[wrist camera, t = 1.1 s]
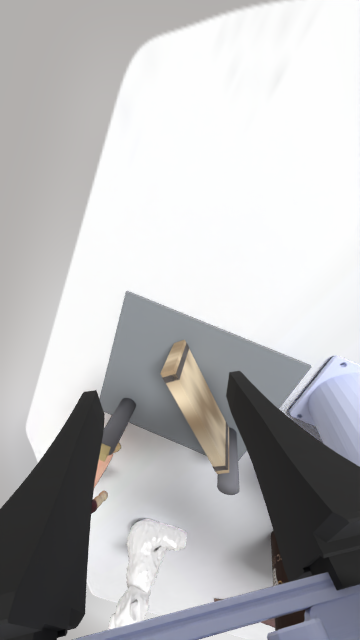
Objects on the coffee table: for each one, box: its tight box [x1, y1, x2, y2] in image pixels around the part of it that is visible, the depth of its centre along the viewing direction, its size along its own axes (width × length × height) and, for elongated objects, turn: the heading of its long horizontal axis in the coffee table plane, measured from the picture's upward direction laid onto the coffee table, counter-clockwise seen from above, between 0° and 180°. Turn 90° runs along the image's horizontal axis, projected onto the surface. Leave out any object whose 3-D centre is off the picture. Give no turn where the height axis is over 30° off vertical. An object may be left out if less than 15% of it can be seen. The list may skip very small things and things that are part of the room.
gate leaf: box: [160, 340, 229, 474], centre depth 21 cm, size 12×1×5 cm, turn 26°
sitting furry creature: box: [109, 519, 187, 630], centre depth 33 cm, size 10×9×12 cm
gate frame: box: [99, 291, 311, 495], centre depth 22 cm, size 19×17×7 cm
